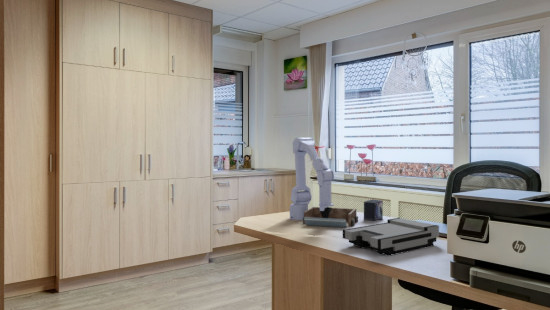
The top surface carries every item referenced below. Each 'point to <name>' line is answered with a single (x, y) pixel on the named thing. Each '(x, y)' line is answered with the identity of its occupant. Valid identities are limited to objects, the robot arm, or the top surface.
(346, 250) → the top surface
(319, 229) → the top surface
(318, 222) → the tailgate
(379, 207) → the small box
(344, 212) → the cart bed
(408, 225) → the game console
